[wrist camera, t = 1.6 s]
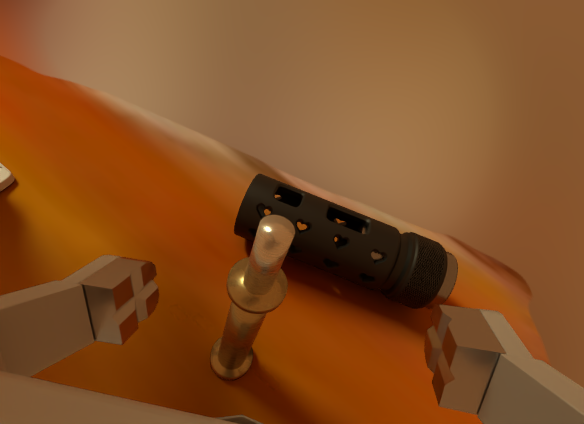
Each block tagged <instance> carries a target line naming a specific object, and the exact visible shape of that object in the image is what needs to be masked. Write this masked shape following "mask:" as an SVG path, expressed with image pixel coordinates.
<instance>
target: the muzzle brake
mask: <svg viewBox="0 0 584 424" xmlns="http://www.w3.org/2000/svg"><path fill="white" fill-rule="evenodd" d="M275 195H280V196H281V197H277V198H275V197H274V196H275ZM265 209H268V210H269V211H271V214H269V215H279V216H282V217H285V218H286V219H288V220H289V221H290V222H291V223H292V224H293V226H294V228H295V235H294V238H293V240H292V242H291V245H290V247H289V249H288V252H287V254H286V255H288V256H290V257H293V258H295V259H297V260H300V261H302V262H305V263H307V264H310V265H312V266H315V267H317V268H320V269H322V270H325V271H327V272H330V273H332V274H335V275H337V276H340V277H342V278H344V279H347V280H349V281H352V282H354V283H357V284H359V285H362V286H364V287H367V288H369V289H372V290H374V289H378V288H379V289H381V292H382V293H383V294H384V295H385V296H386V297H387V298H388V299H391V300H393V301H396V302H398V303H401V304H403V305H406V306H408V307H411V308H413V309H418V308H423V307H425V308H428V309H433V307H434V305H435V304H440V305H442V304H443V303H444V302H445V301H446V300H447V299H448V297H449V296H450V294H451V292H452V290H453V288H454V285H455V282H456V278H457V273H458V264H457V260H456V258H455V257H454V256H453V255H452V254H451V253H449V252H446V251H445V249H444V248H443V247H442V245H440V244H439V243H438V242H436V241H433V240H431V239H428V238H426V237H423V236H421V235H418V234H416V233H413V232H410V233H408V232H406V233H403V234H400V233H399V231H398V230H397V229H396V228H395V227H392V226H390V225H387V224H385V223H382V222H380V221H377V220H375V219H372V218H370V217H367V216H365V215H362V214H360V213H357V212H355V211H352V210H350V209H347V208H345V207H342V206H340V205H337V204H335V203H332V202H330V201H327V200H325V199H322V198H320V197H317V196H315V195H312V194H310V193H307V192H305V191H302V190H300V189H297V188H295V187H292V186H290V185H287V184H285V183H282V182H280V181H277V180H275V179H272V178H270V177H267V176H265V175H262V174H258V175H256V176H255V178H254V179H253V181H252V182H251V184H250V186H249V188H248V190H247V192H246V194H245V196H244V199H243V201H242V203H241V206H240V209H239V212H238V215H237V218H236V222H235V226H234V233H235V234H236V235H238V236H241V237H243V238H246V239H248V240H250V241H253V242H254V240H255V237H256V233H257V230H258V226H259V223H260V221H261V220H262V219H263V218H264V217H266V216H268V215H265V213H264V210H265ZM336 218H337V219H340V220H341V221H345V222H342V223H338V222H337V220H336ZM297 222H300V223H301V224H305V225H306V226H307V228H306V229H304V230H301V231H300V230H299V228H298V227H297ZM335 237H337V239H338V240H337V241H336V242H335V241H334V238H335Z"/></svg>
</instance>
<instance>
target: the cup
mask: <svg viewBox="0 0 584 424" xmlns="http://www.w3.org/2000/svg"><path fill="white" fill-rule="evenodd" d="M216 419H221V420H225V421H230V422H234V423H239V424H263V423H260V422H258V421H256V420H253V419H251V418H249V417H247V416H244V415H236V416H227V417H219V418H216Z"/></svg>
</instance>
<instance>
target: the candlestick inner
mask: <svg viewBox="0 0 584 424" xmlns="http://www.w3.org/2000/svg"><path fill="white" fill-rule="evenodd" d="M294 235H295V228H294V226H293V224H292V223H291V222H290V221H289V220H288V219H286V218H285V217H282V216H279V215H268V216H266V217H264V218H263V219H262V220H261V221H260V223H259V226H258V230H257V233H256V237H255V240H254V244H253V247H252V251H251V254H250V257H248V258H244V259H242V260H240V261H238V262H237V263H236V264H235V265H234V266H233V267H232V268H231V270H230V272H229V275H228V279H227V292H228V295H229V297H230V299H231V301H232V302H231V305H230V309H229V313H228V317H227V320H226V324H225V328H224V332H223V336H222V337H221V338H219V339H218V340H217V341H216V342H215V344H214V346H213V348H212V351H211V355H210V365H211V368H212V370H213V372H214V373H215V374H216V375H217V376H218V377H220V378H221V379H224V380H236V379H238V378H240V377H242V376H243V375H244V374H245V373H246V372H247V371H248V369H249V367H250V365H251V363H252V359H253V350H252V345H253V342H254V340H255V338H256V336H257V334H258V331H259V329H260V327H261V325H262V323H263V320H264V318H265V316H266V314H267V313H268V312H271V311H273V310H275V309H276V308H277V307H278V306H279V305H280V304H281V303H282V301H283V299H284V297H285V295H286V293H287V287H288V284H287V278H286V276H285V274H284V272H283V270H282V269H281V266H282V264H283V261H284V259H285V256H286V254H287V252H288V249H289V247H290V245H291V242H292V240H293V238H294Z"/></svg>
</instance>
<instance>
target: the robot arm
mask: <svg viewBox="0 0 584 424" xmlns="http://www.w3.org/2000/svg"><path fill="white" fill-rule="evenodd" d="M14 179H15V178H14V176H13V174H12V173H11V172H10V171H9V170H8V169H7V168H6V167H5V166H3V165H2V164H1V163H0V191H2V190H3V189H5V188H6V187H8V186H9V185H10V184H11V183H12V182H13V181H14ZM156 275H157V273H156V267H155V265H154V264H153V263H152V262H149V261H143V260H137V259H132V258H126V257H120V256H113V255H103V256H101V257H99V258H98V259H96V260H94V261H93V262H91V263H89V264H88V265H86V266H85V267H83V268H81V269H80V270H78V271H76V272H75V273H73V274H71V275H70V276H68V277H67V278H65V279H63V280H62V281H52V282H48V283H45V284H41V285H37V286H34V287H30V288H26V289H23V290H19V291H15V292H12V293H8V294H4V295H1V296H0V424H239V423H234V422H230V421H225V420H221V419H216V418H212V417H207V416H203V415H198V414H194V413H189V412H185V411H180V410H176V409H171V408H167V407H162V406H158V405H153V404H149V403H144V402H140V401H135V400H131V399H126V398H122V397H117V396H113V395H108V394H104V393H99V392H95V391H90V390H86V389H81V388H77V387H72V386H68V385H63V384H59V383H54V382H50V381H45V380H41V379H36V378H32V377H31V376H33V375H34V374H36V373H38V372H40V371H42V370H44V369H46V368H47V367H49V366H51V365H53V364H55V363H57V362H58V361H60V360H62V359H64V358H66V357H68V356H69V355H71V354H73V353H75V352H77V351H79V350H81V349H82V348H84V347H86V346H88V345H90V344H92V343H93V342H94V340H95V341H101V342H107V343H114V344H120V345H123V344H124V343H125V342H126V341H127V340H128V338H129V337H130V336H131V335H132V334H133V333H134V332H135V331H136V330H137V329H138V322H140V321H142V320H144V319H147V318H148V317H149V316H150V315H151V314H152V313H153V312H154V310H155V308H156V305H157V303H158V298H159V290H158V286H157V285H156V284H155V282H154V281H153V279H154V278H155V277H156ZM430 317H431V320H432V322H433V326H432V327H431V328H429V329H428V330H427V332H426V337H425V348H424V352H425V359H426V363H427V367H428V368H429V369H430V370H431V371H432V372H433V373H434V376H433V380H432V384H433V388H434V391H435V395H436V398H437V401H438V405H439V406H440V407H444V408H449V409H453V410H458V411H462V412H467V413H471V414H476V415H478V418H479V419H480V420H481V421H482V422H483V424H584V388H583V387H581V386H580V385H578V384H577V383H575V382H574V381H572V380H570V379H569V378H567V377H566V376H564V375H563V374H561V373H560V372H558V371H557V370H555V369H554V368H552V367H551V366H549V365H548V364H546V363H545V362H543V361H542V360H536V359H534V358H533V357H532V355H531V354H530V353H529V351H528V350H527V348H526V347H525V346H524V344H523V343H522V341H521V340H520V339H519V337H518V336H517V334H516V333H515V332H514V330H513V329H512V327H511V326H510V325H509V323H508V322H507V320H506V319H505V318H504V316H503V315H502V314H501V313H499V312H498V311H492V310H483V309H472V308H464V307H456V306H448V305H440V304H435V305H434V307H433V309H432V313H431V316H430Z"/></svg>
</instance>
